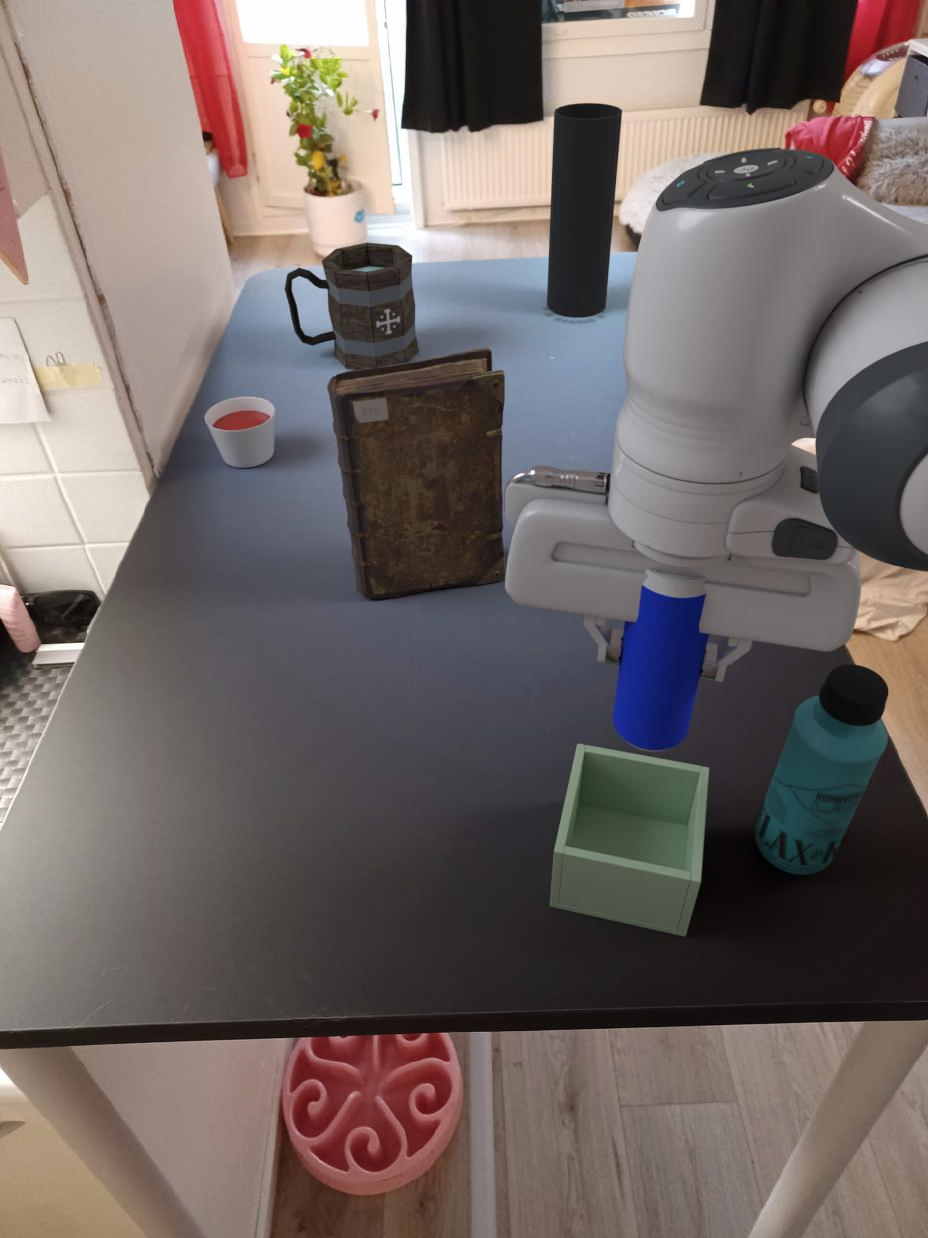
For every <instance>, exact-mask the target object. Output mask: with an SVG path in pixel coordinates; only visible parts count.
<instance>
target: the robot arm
mask: <svg viewBox="0 0 928 1238" xmlns="http://www.w3.org/2000/svg"><path fill="white" fill-rule="evenodd" d="M634 262H635V263H634V266H633V267H634V268H633V274H632V279H631V284H630V290H629V295H628V302H627V310H626V320H625V327H624V337H623V345H622V346H623V347H622V363H623V369H624V372H625V378H626V394H625V399H624V401H623V404H622V406H621V409H620V410H619V412H618V416H617V418H616V422H615V426H614V438H613V448H612V457H611V468H610V472H602V471H593V470H583V469H582V470H581V469H578V470H577V469H573V470H572V469H568V470H567V469H561V468H556V467H554V466H551V465H532V466H531V468H530V470H525V471H522V472H518V473H517V474H514V475H513V476H512V477H511V478H509V480H508V481H507V482H506V485H505V487H504V508H503V509H504V514H505V518H506V520H507V523H508V524H509V525H510V526H511V527H512V528H513V530H514V531H513V533H512V537H511V540H510V546H509V550H508V554H507V560H506V577H505V579H504V589H505V592H506V593H507V595H509V597H510V598H511V599H512V600H513V602H515V603H516V604H517V605H519V606H524V607H529V608H535V609H536V608H537V609H542V610H550V611H555V612H562V613H570V614H575V615H582V616H583V626H584V628H585V629H586V630H587V632H588V633H589V634H590V636H591V638H592V640H594V642H595V644H596V645H598V652H597V660H596V661H597V662H598V663H602V664H603V663H604V664H610V665H616V666H619V665H620V661H621V653H622V645H623V633H624V629H621V628H615V627H613V624H612V623H611V621H610V620H615V621H621V622H625V621H628V622H636V620H637V618H638V613H639V604H640V596H641V588H642V584H643V582H644V581H645V580H646V579H647V577H648V575H647V574H646V573H645V571H646V570H647V569H650V570H651V571H652V570H655V571H656V572H659V573H666V574H672V575H679V576H686V577H698V576H700V578H701V577H706V578H707V582H705V583H703V586H704V589H705V591H706V597H705V602H704V606H703V610H702V615H701V619H700V623H699V631H700V633H706V634H709V635H714V636H721V637H724V638H722V639H721V640H720V641H719V642H718V643H713V642H707V646H706V651H705V655H704V658H703V662H702V668H701V671H700V676H699V678H700V679H702V680H707V681H712V682H719V683H723V682H724V679H725V675H726V671H727V667H728V666H730V665H732V664H733V663H734V662H736V661H737V660H739V659H740V658H741V657H743V656H744V655H746V654H747V653H748V652H750V651H751V649H752V647H753V646H752V645H753V642H760V643H766V644H772V645H773V644H774V645H780V646H787V647H793V648H798V649H806V650H811V651H817V652H818V651H819V652H825V653H830V652H832V651H835V650H837V649H839V648H841V647H843V646H844V645H846V644H847V643H848V642H850V640H851V638H852V635H853V633H854V629H855V627H856V622H857V619H858V615H859V610H860V609H859V608H860V603H861V596H862V585H863V583H862V571H861V558H860V557H861V556H860V553H862V554H863V555H865V556H867V557H869V558H871V559H874V560H876V561H879V562H882V563H885V564H887V565H891V566H894V567H899V568H903V569H907V570H913V571H919V572H925V573H928V224H927V223H924V222H921V221H919V220H916V219H913V218H911V217H909V216H905V215H903V214H901V213H899V212H897V211H895V210H893V209H891V208H890V207H888V206H886V205H884V204H883V203H881V202H879V201H877V200H876V199H875V198H873V197H871V195H870V196H869V194H867V193H865V192H864V191H863V190H861V189H859V188H858V187H857V186H856V185H855V184H853V183H852V182H851V180H849V179H848V178H847V177H846V176H845V175H844V174H843V173H842V172H841V171H840V170H839V168H838V167H837V165H836V164H835V163H834V161H833V160H831V159H830V158H829V157H827V156H825V155H823V154H820V153H817V152H814V151H811V150H806V149H801V148H800V149H799V148H798V149H797V148H796V149H792V148H790V149H789V148H781V147H764V148H753V149H745V150H740V151H735V152H731V153H727V154H723V155H720V156H716V157H713V158H711V159H707V160H704V161H703V163H700V164H698V165H696V166H694V167H691V168H689V169H687V170H685V171H683V172H682V173H681V174H679V175H678V176H677V177H676V178H674V179H673V180H672V181H671V182H670V183H669V184H668V185H667V186H666V187H665V188H664V189H663V190H662V192H661V193H660V194H659V196H657V199H656V200H655V202H654V203H653V205H652V207H651V209H650V212H649V213H648V215H647V218H646V221H645V224H644V226H643V230H642V233H641V237H640V241H639V244H638V249H637V254H636V257H635V261H634ZM803 439H814V440H815V442H814V444H815V445H814V447H815V453H813V452H810V451H807V450H805V449H803V448H801V447H798V446H796V445H794V443H795V442H797V441H799V440H803Z"/></svg>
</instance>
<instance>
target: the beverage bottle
mask: <svg viewBox="0 0 928 1238" xmlns="http://www.w3.org/2000/svg"><path fill="white" fill-rule="evenodd" d="M889 693H890V692H889V686H888V684H887V682H886V680H885V679H884V678H883V677H882V676H881V675H880V674H879V673H878V672H876V671H875V670H873V669H871V668H869V667H866V666H864V665H859V664H853V663H852V664H850V663H849V664H841V665H838V666H836V667H834V668H833V669H832V670H831V671H830V672H829V673H828V674H827V677H826V679H825V681H824V683H823V684H822V686H821V688H820V690H819V693H818V695H815V696H812V697H808V698H807V699H805V700H804V701H802V702H801V703H800V704H799V705H798V706H797V708H796V709H795V711H794V714H793V719H792V723H791V725H790V729H789V731H788V734H787V737H786V740H785V742H784V746H783V749H782V751H781V754H780V757H779V759H778V763H777V765H776V766H775V767H774V771H773V772H771V774H770V778H769V780H768V786H767V788H766V792H765V793H764V795H763V798H762V800H761V803H760V806H759V809H758V812H757V815H756V817H755V822H754V824H755V825H754V826H753V830H752V831H753V832H754V836H753V837H754V840H755V843H756V846H757V848H758V850H759V852H760V853H761V855H762V856H763V857H764V858H765V860H767V861H768V863H770V864H771V865H773V866H774V867H775V868H777V869H779V870H781V871H784V872H786V873H789V874H793V875H798V876H800V875H801V876H807V875H808V876H809V875H813V874H817V873H819V872H821V871H823V870H825V869H827V868H828V867H830V865H832V864H833V863H834V861H835V859H836V857H837V855H838V854H839V852H840V850H841V847H842V846H843V844H844V842H845V840H846V837H847V835H848V833H849V831H848V828H849V826H850V823H851V821H852V820H853V817H854V816H855V814H856V812H857V811H856V810H858V808H859V805H861V803H862V802H863V801H864V799H862V798H863V797H864V794H865V792H866V790H867V788H869V787H870V786H871V783H870V782H871V781H872V779H871V777H872V775H873V773H874V771H875V769H876V767H877V764H878V763H879V760H880V758H881V756H882V755H883V753H884V752H885V750H886V748H887V746H888V742H889V741H888V740H889V734H888V731H887V727H886V725H885V723H884V722H883V720H882V719H881V718H882V717H883V715H884V712H885V709H886V704H887V701H888V697H889ZM861 800H862V801H861ZM846 832H847V833H846Z"/></svg>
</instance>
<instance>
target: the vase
mask: <svg viewBox="0 0 928 1238" xmlns="http://www.w3.org/2000/svg"><path fill="white" fill-rule="evenodd" d="M622 118H623V109H622V108H620V107H619V106H616V105H612V104H609V103H608V104H607V103H599V102H598V103H597V102H583V103H582V102H578V103H571V104H565V105H562V106H558V107H557V108H555V109H554V112H553V132H552V133H553V135H552V157H551V159H552V161H551V162H552V163H551V189H550V210H549V211H550V212H549V213H550V214H549V218H550V219H549V239H548V266H547V287H546V288H547V290H546V306H547V308H548V309H549V310H550V311H551V312H553V313H554V314H556V315H560V316H562V317H569V318H586V317H591V316H595V315H597V314H601V313H602V312H603V311H604V310H605V309H606V307H607V298H608V297H607V296H608V285H609V284H608V283H609V272H610V262H611V250H612V249H611V248H612V239H613V238H612V237H613V225H614V214H615V202H616V201H615V200H616V189H617V177H618V165H619V154H620V153H619V152H620V142H621V129H622Z"/></svg>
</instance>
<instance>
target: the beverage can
mask: <svg viewBox="0 0 928 1238" xmlns="http://www.w3.org/2000/svg"><path fill="white" fill-rule="evenodd" d="M645 573H646V574H647V575H648V577H647V579H646V580H645V581H644V582H643V584H642V588H641V596H640V604H639V613H638V618H637V620H636V622H628V621H624V626H623V630H624V633H623V645H622V653H621V661H620V665H618V674H617V679H616V680H617V681H616V689H615V695H614V696H615V698H614V704H613V712H612V724H613V727H614V729H615V731H616V732H617V734H618V735H619V737H620V738H622V739H623V740H624V741H625V742H626V743H627V744H628V745H630V746H631V747H633V748H635V749H637V750H641V751H643V752H644V751H645V752H651V753H652V752H653V753H658V752H663V751H667V750H669V749H673V748H675V747H676V746H678V745H679V744H681V743H682V742H683V741H684V740H685V739H686V738H687V735H688V733H689V729H690V725H691V720H692V715H693V712H694V711H693V710H694V706H695V702H696V701H695V700H696V697H697V692H698V688H699V682H700V680H701V678H699V676H700V671H701V668H702V662H703V658H704V655H705V651H706V646H707V643H709V642H708V640H709V637H710V634H706V633H700V631H699V623H700V619H701V615H702V610H703V606H704V602H705V597H706V591H705V589H704V586H703V583H705V582H707V578H706V577H701V578H700V576H698V577H686V576H679V575H672V574H666V573H659V572H656V571H655V570H652V571H651V570H650V569H647V570H646V571H645Z"/></svg>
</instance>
